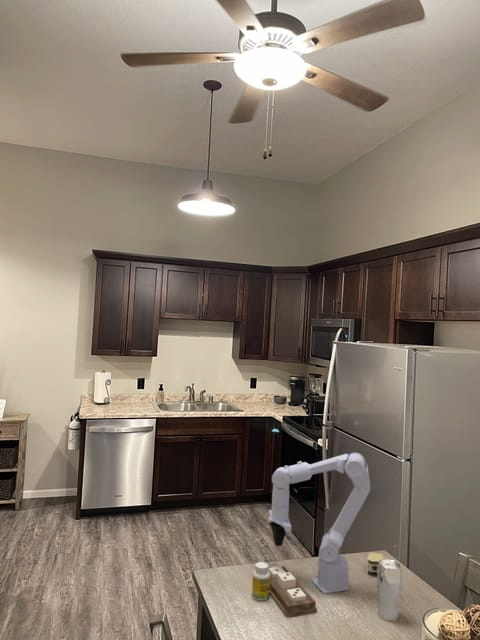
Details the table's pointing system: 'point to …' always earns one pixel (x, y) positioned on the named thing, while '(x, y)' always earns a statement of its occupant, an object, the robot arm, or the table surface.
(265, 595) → the supplement bottle
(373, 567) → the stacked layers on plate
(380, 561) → the beer glass
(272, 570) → the key one
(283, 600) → the brown wooden tray
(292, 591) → the key three
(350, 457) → the robot arm
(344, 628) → the table surface
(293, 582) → the key two
